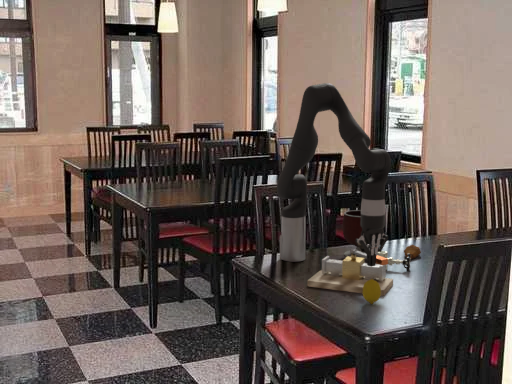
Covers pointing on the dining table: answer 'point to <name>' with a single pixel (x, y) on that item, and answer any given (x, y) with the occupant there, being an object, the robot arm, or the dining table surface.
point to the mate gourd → (352, 229)
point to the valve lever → (379, 259)
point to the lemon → (371, 291)
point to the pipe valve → (353, 268)
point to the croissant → (412, 251)
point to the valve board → (345, 283)
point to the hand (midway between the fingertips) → (371, 265)
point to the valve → (397, 261)
